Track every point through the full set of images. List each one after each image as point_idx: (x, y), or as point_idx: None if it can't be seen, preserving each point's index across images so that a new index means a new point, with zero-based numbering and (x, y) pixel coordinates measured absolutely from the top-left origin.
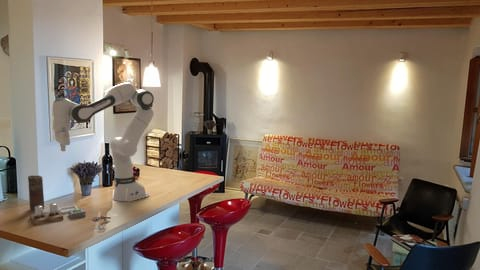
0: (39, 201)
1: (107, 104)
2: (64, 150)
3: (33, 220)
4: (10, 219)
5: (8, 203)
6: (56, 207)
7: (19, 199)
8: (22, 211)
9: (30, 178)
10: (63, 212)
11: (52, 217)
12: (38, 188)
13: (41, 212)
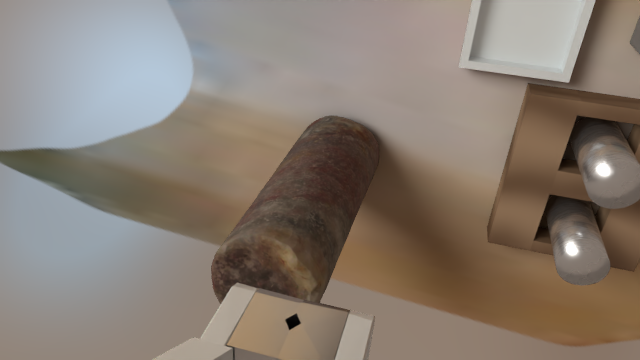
0: (367, 176)
1: None
2: (369, 337)
3: (614, 265)
4: (416, 283)
5: (144, 209)
6: (637, 161)
7: (94, 152)
8: None
9: None
10: (571, 67)
11: None
12: (344, 230)
13: (600, 236)
